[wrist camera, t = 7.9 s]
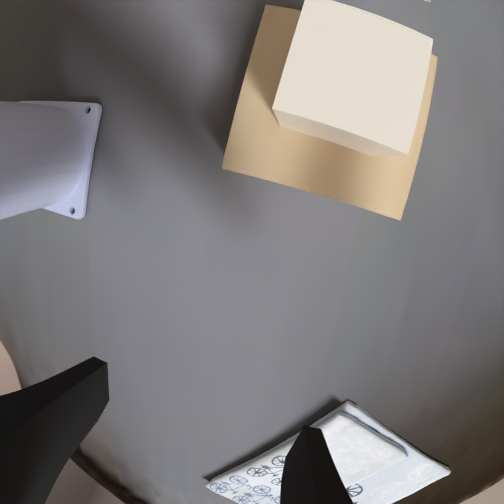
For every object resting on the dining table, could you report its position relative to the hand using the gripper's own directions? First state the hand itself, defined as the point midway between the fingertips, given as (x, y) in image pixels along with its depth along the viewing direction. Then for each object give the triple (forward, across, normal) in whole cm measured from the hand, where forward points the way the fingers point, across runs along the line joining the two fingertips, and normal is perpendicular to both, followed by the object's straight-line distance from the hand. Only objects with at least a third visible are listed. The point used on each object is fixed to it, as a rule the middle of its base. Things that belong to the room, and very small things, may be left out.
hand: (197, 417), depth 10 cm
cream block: (+7, -2, -12) cm, 14 cm away
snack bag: (+11, -14, +19) cm, 26 cm away
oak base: (+10, -2, -12) cm, 16 cm away
